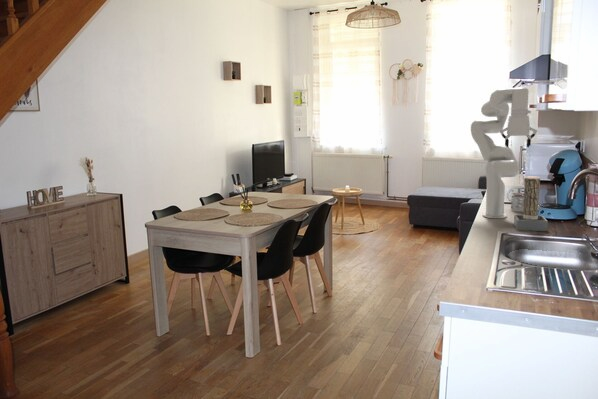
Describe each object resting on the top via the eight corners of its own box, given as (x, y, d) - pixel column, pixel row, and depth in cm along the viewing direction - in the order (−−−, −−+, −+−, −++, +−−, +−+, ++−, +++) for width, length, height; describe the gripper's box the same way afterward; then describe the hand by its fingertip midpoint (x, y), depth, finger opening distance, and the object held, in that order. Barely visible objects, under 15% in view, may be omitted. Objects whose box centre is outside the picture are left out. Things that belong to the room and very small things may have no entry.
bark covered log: (538, 227, 245) (541, 177, 241) (524, 227, 246) (526, 177, 242) (535, 224, 251) (538, 176, 247) (521, 224, 253) (523, 176, 248)
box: (513, 224, 257) (514, 214, 256) (542, 225, 253) (543, 215, 252) (517, 230, 244) (517, 220, 244) (547, 231, 240) (547, 221, 239)
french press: (530, 211, 290) (532, 168, 285) (510, 211, 290) (512, 169, 286) (522, 208, 299) (524, 167, 295) (503, 208, 300) (505, 167, 295)
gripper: (536, 112, 247) (535, 146, 250) (500, 113, 252) (498, 146, 255) (539, 112, 240) (537, 147, 243) (501, 113, 245) (499, 147, 248)
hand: (517, 147), depth 249 cm, fingers open, 9 cm apart
